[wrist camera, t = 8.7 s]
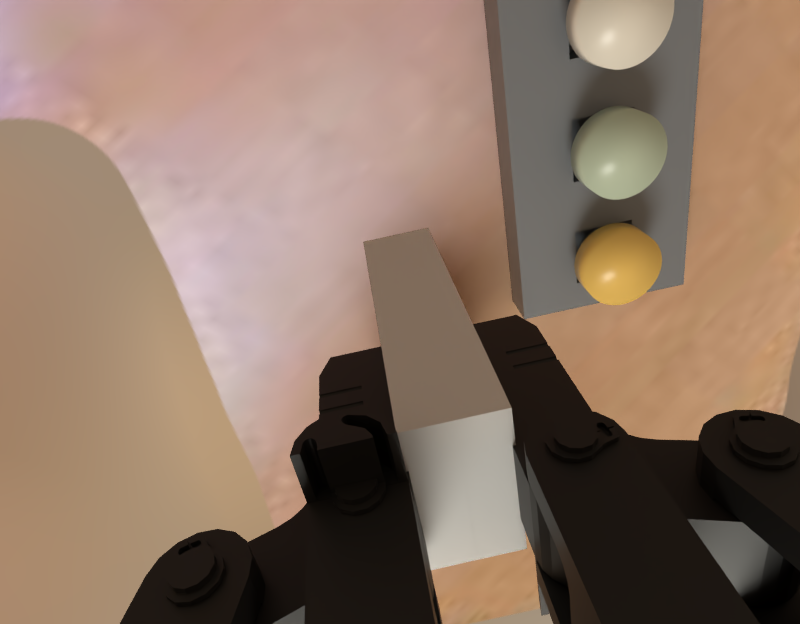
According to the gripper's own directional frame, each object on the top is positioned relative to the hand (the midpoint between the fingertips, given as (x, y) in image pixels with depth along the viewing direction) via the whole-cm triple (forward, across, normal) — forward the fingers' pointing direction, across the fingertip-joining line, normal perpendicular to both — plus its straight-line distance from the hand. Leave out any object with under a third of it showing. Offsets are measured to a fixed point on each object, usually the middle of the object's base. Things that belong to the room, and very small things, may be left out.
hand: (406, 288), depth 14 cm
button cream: (+25, +15, +2) cm, 29 cm away
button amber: (+25, +15, -12) cm, 31 cm away
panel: (+26, +15, -5) cm, 31 cm away
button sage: (+25, +15, -5) cm, 29 cm away
